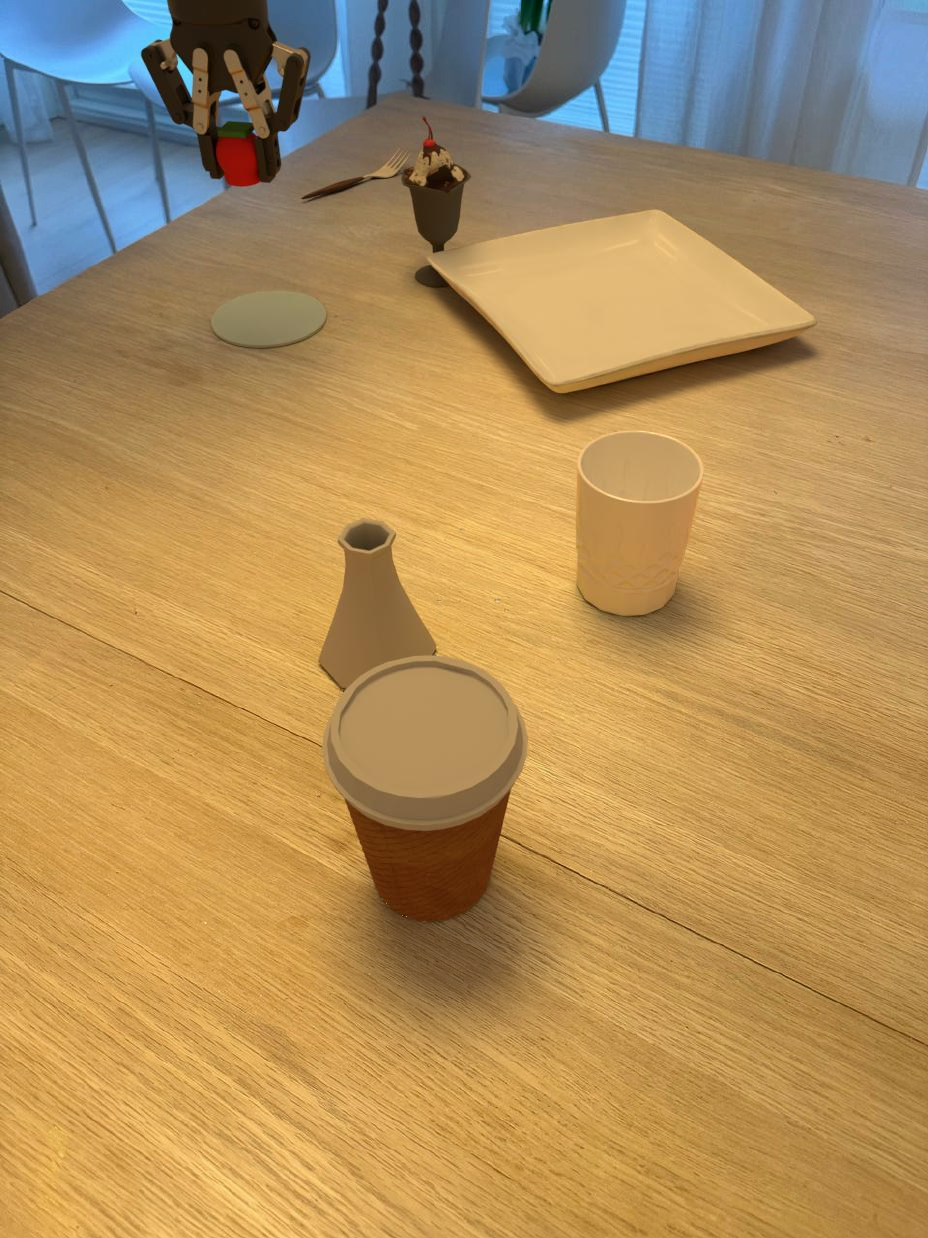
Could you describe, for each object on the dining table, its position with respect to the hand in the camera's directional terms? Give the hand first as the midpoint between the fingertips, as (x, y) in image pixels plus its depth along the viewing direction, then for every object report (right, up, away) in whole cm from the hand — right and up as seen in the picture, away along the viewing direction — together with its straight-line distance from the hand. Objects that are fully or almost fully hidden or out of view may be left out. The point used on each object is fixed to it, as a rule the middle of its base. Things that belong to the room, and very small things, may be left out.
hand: (244, 176), depth 90 cm
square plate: (+33, -9, +11) cm, 36 cm away
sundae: (+16, -3, +18) cm, 24 cm away
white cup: (+30, -35, -17) cm, 49 cm away
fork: (+6, +14, +36) cm, 39 cm away
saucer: (0, -9, +11) cm, 14 cm away
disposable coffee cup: (+17, -51, -34) cm, 64 cm away
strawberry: (0, 0, 0) cm, 0 cm away
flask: (+13, -40, -22) cm, 48 cm away
